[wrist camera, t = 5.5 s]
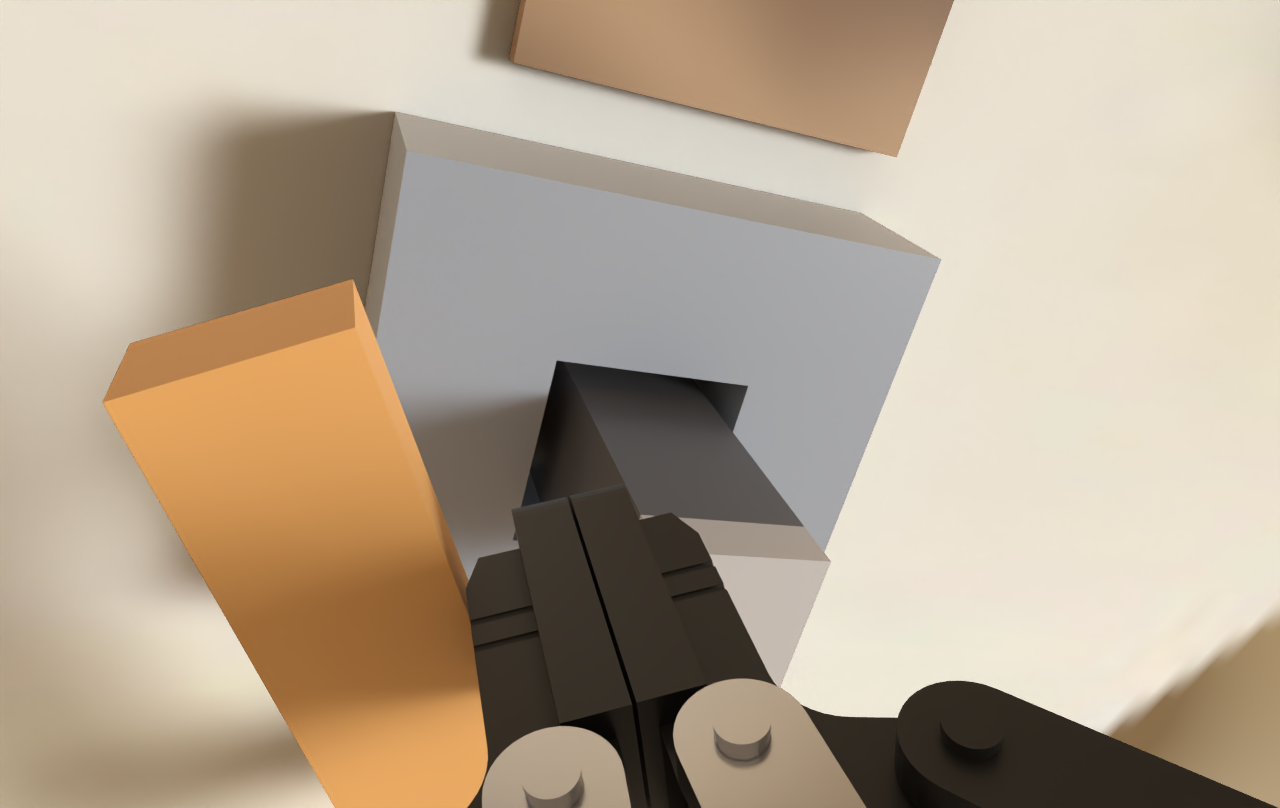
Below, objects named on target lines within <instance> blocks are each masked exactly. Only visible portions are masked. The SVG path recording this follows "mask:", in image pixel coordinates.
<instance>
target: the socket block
mask: <svg viewBox="0 0 1280 808" xmlns="http://www.w3.org/2000/svg"><path fill="white" fill-rule="evenodd" d="M940 261H941V259H939V258H938V257H936V256H934V255H932V254H931V253H929V252H927V251H926V250H924V249H922V248H920V247H919V246H917V245H915V244H914V243H912V242H910V241H908V240H907V239H905V238H903V237H902V236H900V235H898V234H896V233H895V232H893V231H891V230H890V229H888V228H886V227H884V226H883V225H881V224H879V223H878V222H876V221H874V220H872V219H871V218H869V217H867V216H865V215H864V214H862V213H858V212H854V211H849V210H844V209H840V208H835V207H831V206H826V205H821V204H817V203H812V202H808V201H803V200H798V199H794V198H789V197H785V196H780V195H775V194H771V193H766V192H762V191H757V190H752V189H748V188H743V187H739V186H734V185H729V184H725V183H720V182H716V181H711V180H707V179H702V178H697V177H693V176H688V175H684V174H679V173H674V172H670V171H665V170H661V169H656V168H651V167H647V166H642V165H638V164H633V163H628V162H624V161H619V160H615V159H610V158H605V157H601V156H596V155H592V154H587V153H582V152H578V151H573V150H569V149H564V148H559V147H555V146H550V145H546V144H541V143H536V142H532V141H527V140H523V139H518V138H513V137H509V136H504V135H500V134H495V133H490V132H486V131H481V130H477V129H472V128H467V127H463V126H458V125H454V124H449V123H444V122H440V121H435V120H431V119H426V118H421V117H417V116H412V115H408V114H403V113H398V112H395V117H394V123H393V130H392V136H391V142H390V149H389V155H388V162H387V168H386V175H385V181H384V188H383V194H382V201H381V207H380V214H379V220H378V227H377V233H376V240H375V246H374V253H373V259H372V266H371V272H370V279H369V285H368V291H367V298H366V304H365V312H366V315H367V317H368V320H369V322H370V325H371V328H372V330H373V333H374V335H375V338H376V341H377V343H378V346H379V348H380V351H381V354H382V356H383V359H384V361H385V364H386V367H387V369H388V372H389V374H390V377H391V380H392V382H393V385H394V387H395V390H396V393H397V395H398V398H399V400H400V403H401V406H402V408H403V411H404V413H405V416H406V419H407V421H408V424H409V427H410V429H411V432H412V434H413V437H414V440H415V442H416V445H417V447H418V450H419V453H420V455H421V458H422V460H423V463H424V466H425V468H426V471H427V473H428V476H429V479H430V481H431V484H432V486H433V489H434V492H435V494H436V497H437V499H438V502H439V505H440V507H441V510H442V512H443V515H444V518H445V520H446V523H447V525H448V528H449V531H450V533H451V536H452V538H453V541H454V544H455V546H456V549H457V552H458V554H459V557H460V559H461V562H462V565H463V567H464V570H465V572H466V575H467V578H468V580H469V579H470V577H471V575H472V572H473V570H474V567H475V565H476V563H477V560H478V558H480V557H484V556H489V555H493V554H497V553H502V552H506V551H510V550H514V549H519V545H518V540H517V535H516V530H515V526H514V521H513V516H512V511H511V509H515V508H520V507H524V506H528V505H533V504H537V503H541V502H540V499H539V496H538V493H537V491H536V488H535V485H534V482H533V479H532V476H531V473H530V468H531V464H532V459H533V455H534V451H535V447H536V443H537V439H538V435H539V431H540V427H541V423H542V419H543V415H544V410H545V406H546V402H547V398H548V394H549V390H550V386H551V382H552V378H553V374H554V370H555V365H556V361H565V362H572V363H580V364H587V365H595V366H602V367H610V368H617V369H625V370H632V371H640V372H647V373H655V374H662V375H670V376H677V377H685V378H692V379H693V380H694V382H695V383H696V384H697V386H698V387H699V388H700V390H701V391H702V392H703V393H704V395H705V396H706V397H707V399H708V400H709V401H710V403H711V404H712V405H713V407H714V408H715V409H716V411H717V412H718V413H719V415H720V416H721V417H722V419H723V420H724V421H725V423H726V424H727V425H728V427H729V428H730V429H731V430H732V432H733V433H734V434H735V436H736V437H737V438H738V440H739V441H740V442H741V444H742V445H743V446H744V448H745V449H746V450H747V452H748V453H749V454H750V456H751V457H752V458H753V460H754V461H755V462H756V463H757V465H758V466H759V467H760V469H761V470H762V471H763V473H764V474H765V475H766V477H767V478H768V479H769V481H770V482H771V483H772V485H773V486H774V487H775V489H776V490H777V491H778V493H779V494H780V495H781V496H782V498H783V499H784V500H785V502H786V503H787V504H788V506H789V507H790V508H791V510H792V511H793V512H794V514H795V515H796V516H797V518H798V519H799V520H800V522H801V523H802V524H803V526H804V527H805V528H806V529H807V531H808V532H809V533H810V535H811V536H812V537H813V539H814V540H815V541H816V543H817V544H818V545H819V547H820V548H821V549H822V551H823V552H824V551H825V549H826V546H827V544H828V541H829V539H830V536H831V534H832V531H833V529H834V526H835V524H836V521H837V519H838V516H839V514H840V511H841V509H842V506H843V504H844V501H845V499H846V496H847V494H848V491H849V489H850V486H851V484H852V481H853V479H854V476H855V474H856V471H857V469H858V466H859V464H860V461H861V459H862V456H863V454H864V451H865V449H866V446H867V444H868V441H869V439H870V436H871V434H872V431H873V429H874V426H875V424H876V421H877V419H878V416H879V414H880V411H881V409H882V406H883V404H884V401H885V399H886V396H887V394H888V391H889V389H890V386H891V384H892V381H893V379H894V376H895V374H896V371H897V369H898V366H899V364H900V361H901V359H902V356H903V354H904V351H905V349H906V346H907V344H908V341H909V339H910V336H911V334H912V331H913V329H914V326H915V324H916V321H917V319H918V316H919V314H920V311H921V309H922V306H923V304H924V301H925V299H926V296H927V294H928V291H929V289H930V286H931V284H932V281H933V279H934V276H935V274H936V271H937V269H938V266H939V264H940Z"/></svg>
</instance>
